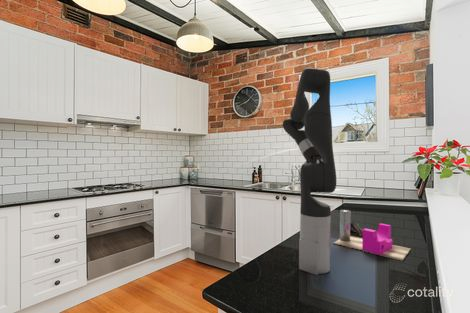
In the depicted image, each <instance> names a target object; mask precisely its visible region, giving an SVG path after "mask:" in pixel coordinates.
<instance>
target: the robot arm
mask: <svg viewBox="0 0 470 313" xmlns="http://www.w3.org/2000/svg"><path fill="white" fill-rule="evenodd" d="M306 93H310V94H311V93H312V94H317V95H318V96H319V97H318V98H317V100H316V101H315V102H314V103H313V105H311V107H310V103H309V101H308V98H307V97H306ZM330 96H331V73H330V71H328V70H327V69H322V68H321V69H320V68H313V67H305V68H304V69H303V70H302V72H301V74H300V78H299V81H298V86H297V90H296V95H295V100H294V103H293V106H292V109H291V111H290V114H289V116H290V117H288V118H285V119H284V120H282V128H283V130H284V131H285V133H287V135H288V136H290V137H291V139H293V141H295V143H296V145H297V147H298V149H299V150H300V152H301V154H302V156H303V157H304V159H305V162H303V164H302V165H301V166H300V170H299V181H300V182H299V184H300V185H299V186H300V208H299V209H300V214H299V216H300V217H299V220H300V221H299V226H300V227H299V240H298V243H299V244H298V251H299V252H298V269H299V270H300V271H304V272H307V273H310V274H312V275H315V276H318V275H320V274H321V275H322V274H327V273H329V272H330V270H331V267H330V266H331V224H332V223H331V220H332V219H331V217H332V216H331V214H332V212H331V211H332V210H331V206H330V204H327V203H325V202H323V201H319V200H318V199H316V198H315V197H313V196H312V195H311V193H314V194H315V193H318V194H320V193H321V194H330V193H331V194H332V193H333V192H335V190H336V188H337V172H336V164H335V156H334V155H335V154H334V150H333V123H332V114H331V113H332V111H331V101H330V100H331V97H330ZM303 128H304V129H303Z"/></svg>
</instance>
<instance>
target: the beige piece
mask: <svg viewBox="0 0 470 313" xmlns="http://www.w3.org/2000/svg"><path fill="white" fill-rule="evenodd" d="M351 215H352V212H351V210H349V209H340V211H339V227H340V230H339V238H338V239H337V240H336V241H333V243H335V244H339V245H343V246H346V247H345V248H347V247H350V248H349V249H351V248H354V249H353V250H355V249H358V250H357V251H359V250H362V243H363V237H362V238H361V237H356V236H354V235H351V234H350V231H351V230H350V221H352V219H351ZM339 245H338V246H339ZM343 246H342V247H343ZM364 251H365V253H368V252H369V251H366V250H363V251H362V252H364ZM411 251H412V250H411V248H409V247H405V246H401V245H395V244H392V249H390V250H388V251H386V252H384V253H382V254H380V255H379V254H376V253H372V252H369V254H372V255H377V256H380V257H385V258H389V259H394V260H396V261H397V260H398V261H404V259H405V258H406V257H407V255H408V254H409V253H410V252H411Z"/></svg>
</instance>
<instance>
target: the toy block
mask: <svg viewBox="0 0 470 313" xmlns="http://www.w3.org/2000/svg"><path fill="white" fill-rule="evenodd" d="M362 230H363V236H362V238H363V243H362V250H366V251H369V252H372V253H376V254H379V255H378V256H380V254H382V253H384V252H386V251H388V250H390V249H392V245H393V238H392V237H391V236H392V235H391V234H392V225H391V224H386V223H378V228H377V230H375V229H370V228H366V227H365V228H363V229H362ZM372 253H371V254H372ZM376 254H375V255H376Z"/></svg>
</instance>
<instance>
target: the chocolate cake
mask: <svg viewBox="0 0 470 313" xmlns="http://www.w3.org/2000/svg"><path fill="white" fill-rule="evenodd" d="M338 228H339V231H340V226H339V227H338ZM350 236H353V237H358V238H360V237H363V229H362V228H361V227H360V226H359V224H358V223H357V222H355V221H354V220H350Z"/></svg>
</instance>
